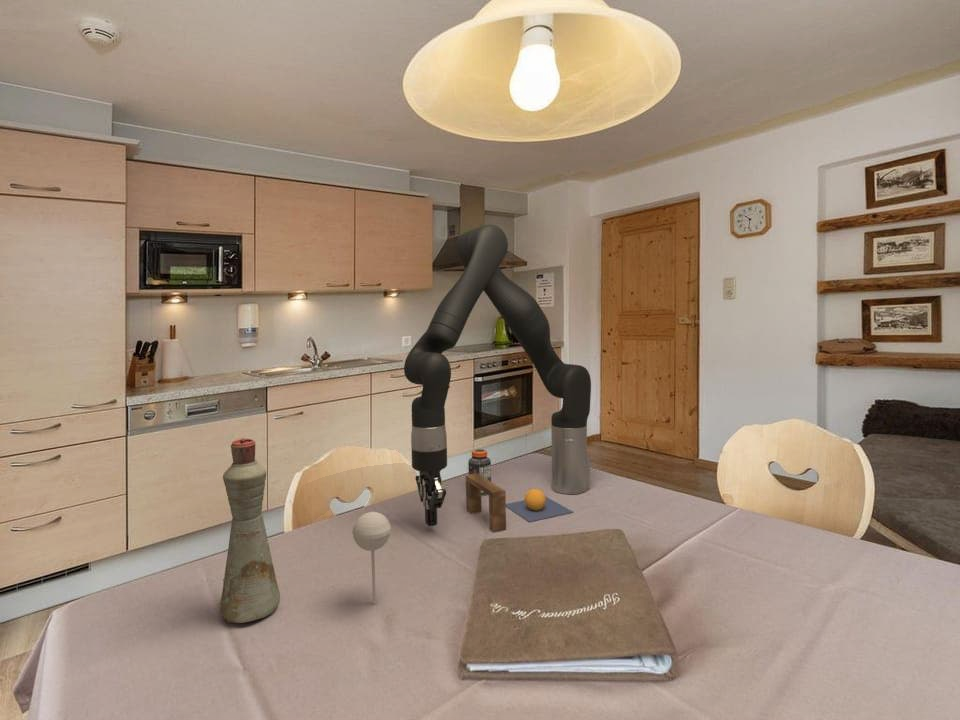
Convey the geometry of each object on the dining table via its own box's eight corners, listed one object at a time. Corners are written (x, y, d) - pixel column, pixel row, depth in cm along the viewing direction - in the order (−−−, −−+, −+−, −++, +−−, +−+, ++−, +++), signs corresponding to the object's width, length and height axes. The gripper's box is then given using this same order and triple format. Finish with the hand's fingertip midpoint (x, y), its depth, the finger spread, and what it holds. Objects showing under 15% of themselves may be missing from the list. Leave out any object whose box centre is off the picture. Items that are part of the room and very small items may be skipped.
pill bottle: (465, 490, 135) (464, 449, 134) (485, 487, 137) (484, 446, 136) (474, 497, 130) (473, 454, 129) (495, 494, 132) (494, 451, 131)
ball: (540, 488, 124) (524, 484, 122) (552, 494, 119) (535, 490, 117) (535, 508, 124) (518, 504, 121) (546, 515, 119) (529, 511, 117)
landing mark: (544, 496, 129) (544, 496, 129) (573, 512, 118) (573, 511, 118) (503, 505, 124) (503, 504, 124) (529, 522, 113) (529, 521, 113)
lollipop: (401, 602, 82) (398, 512, 81) (370, 618, 78) (367, 523, 76) (378, 589, 86) (375, 503, 85) (348, 604, 82) (344, 513, 81)
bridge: (477, 508, 122) (477, 473, 121) (506, 529, 110) (505, 490, 109) (466, 510, 121) (465, 475, 120) (493, 532, 108) (493, 492, 108)
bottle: (218, 634, 75) (206, 447, 72) (222, 603, 83) (211, 434, 81) (281, 619, 78) (272, 440, 76) (279, 591, 86) (270, 428, 84)
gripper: (457, 450, 104) (459, 532, 105) (434, 437, 116) (436, 511, 117) (422, 455, 100) (425, 539, 102) (402, 441, 112) (405, 517, 114)
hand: (431, 524), depth 109 cm, fingers closed
